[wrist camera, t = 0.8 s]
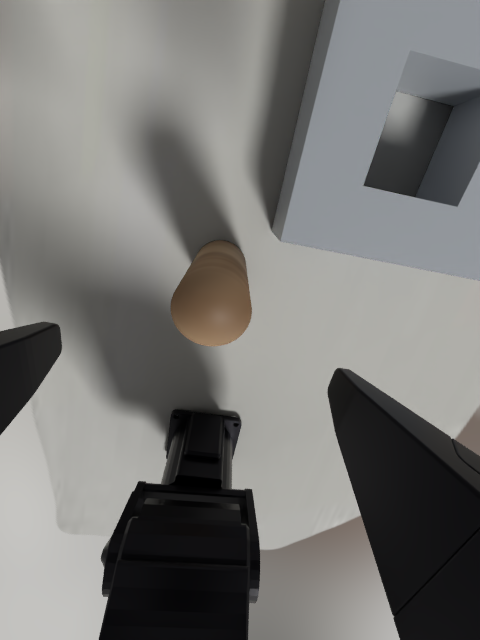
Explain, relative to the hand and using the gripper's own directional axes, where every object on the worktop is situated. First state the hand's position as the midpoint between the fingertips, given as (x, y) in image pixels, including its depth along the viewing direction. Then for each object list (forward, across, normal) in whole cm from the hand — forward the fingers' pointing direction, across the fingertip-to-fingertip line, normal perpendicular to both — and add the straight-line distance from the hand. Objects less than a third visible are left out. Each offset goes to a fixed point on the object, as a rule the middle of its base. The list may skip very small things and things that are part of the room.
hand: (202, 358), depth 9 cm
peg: (+12, 0, 0) cm, 12 cm away
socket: (+12, -9, -9) cm, 17 cm away
